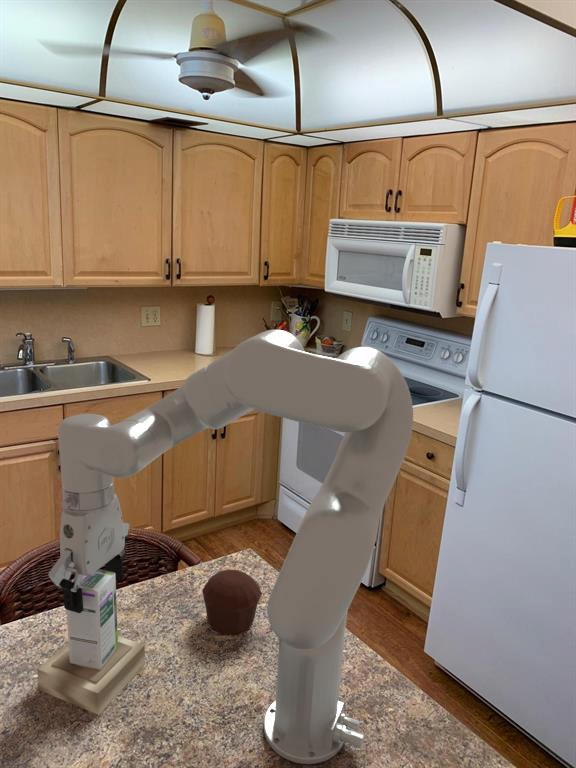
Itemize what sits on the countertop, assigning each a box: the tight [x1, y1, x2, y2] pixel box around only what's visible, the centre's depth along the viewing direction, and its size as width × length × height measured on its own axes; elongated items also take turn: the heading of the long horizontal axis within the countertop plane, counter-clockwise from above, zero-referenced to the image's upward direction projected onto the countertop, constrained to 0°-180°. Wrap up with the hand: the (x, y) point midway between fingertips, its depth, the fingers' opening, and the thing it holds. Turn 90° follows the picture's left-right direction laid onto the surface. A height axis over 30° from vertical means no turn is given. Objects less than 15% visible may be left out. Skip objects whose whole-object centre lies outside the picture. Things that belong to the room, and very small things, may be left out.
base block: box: [37, 635, 146, 716], centre depth 96 cm, size 12×12×4 cm
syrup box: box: [66, 568, 119, 670], centre depth 94 cm, size 6×6×14 cm
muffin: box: [201, 569, 263, 637], centre depth 111 cm, size 12×11×10 cm
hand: (95, 593), depth 92 cm, fingers open, 9 cm apart
